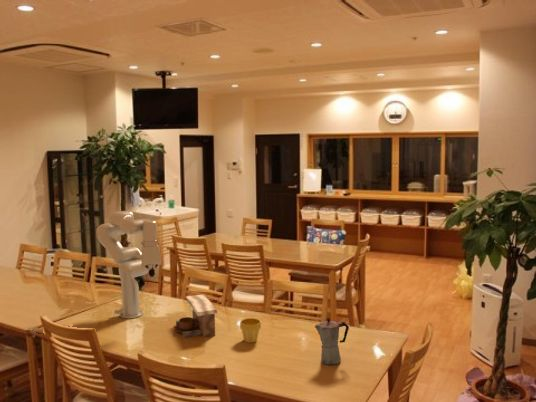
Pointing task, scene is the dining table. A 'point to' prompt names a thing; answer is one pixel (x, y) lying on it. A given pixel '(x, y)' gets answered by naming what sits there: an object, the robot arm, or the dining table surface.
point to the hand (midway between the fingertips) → (151, 276)
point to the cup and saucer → (186, 325)
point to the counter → (201, 316)
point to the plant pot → (250, 329)
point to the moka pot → (330, 340)
